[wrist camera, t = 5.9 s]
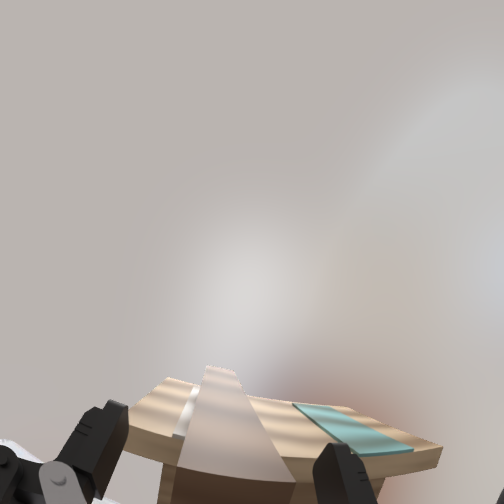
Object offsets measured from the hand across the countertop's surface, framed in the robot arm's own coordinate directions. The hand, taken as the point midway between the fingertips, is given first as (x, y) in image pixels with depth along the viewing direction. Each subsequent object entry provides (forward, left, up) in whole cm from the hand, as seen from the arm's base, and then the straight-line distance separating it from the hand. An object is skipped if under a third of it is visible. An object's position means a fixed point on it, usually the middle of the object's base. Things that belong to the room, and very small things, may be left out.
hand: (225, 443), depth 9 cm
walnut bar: (-7, -6, -2) cm, 9 cm away
